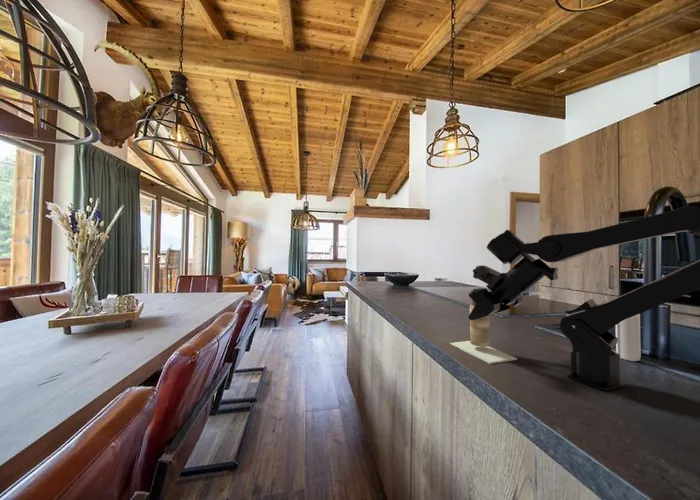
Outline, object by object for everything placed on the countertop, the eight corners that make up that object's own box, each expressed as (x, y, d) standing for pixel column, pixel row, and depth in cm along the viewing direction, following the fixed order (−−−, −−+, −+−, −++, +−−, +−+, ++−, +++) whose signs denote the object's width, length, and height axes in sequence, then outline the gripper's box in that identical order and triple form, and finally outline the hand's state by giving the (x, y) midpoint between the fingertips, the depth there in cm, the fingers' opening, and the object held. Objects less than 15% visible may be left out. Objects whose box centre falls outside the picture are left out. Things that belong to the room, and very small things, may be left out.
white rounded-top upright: (616, 348, 72) (615, 301, 72) (640, 352, 68) (639, 304, 69) (615, 358, 64) (614, 307, 65) (641, 363, 61) (640, 309, 62)
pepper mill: (492, 344, 70) (492, 298, 70) (484, 348, 67) (484, 299, 67) (475, 339, 73) (474, 296, 74) (467, 343, 70) (466, 297, 71)
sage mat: (517, 359, 64) (516, 358, 64) (490, 363, 61) (490, 362, 61) (473, 341, 77) (473, 340, 77) (450, 344, 75) (450, 343, 75)
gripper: (508, 254, 74) (470, 291, 82) (476, 254, 62) (435, 297, 70) (543, 285, 67) (497, 321, 76) (515, 292, 55) (464, 334, 64)
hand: (474, 317), depth 71 cm, fingers closed on pepper mill, 5 cm apart
